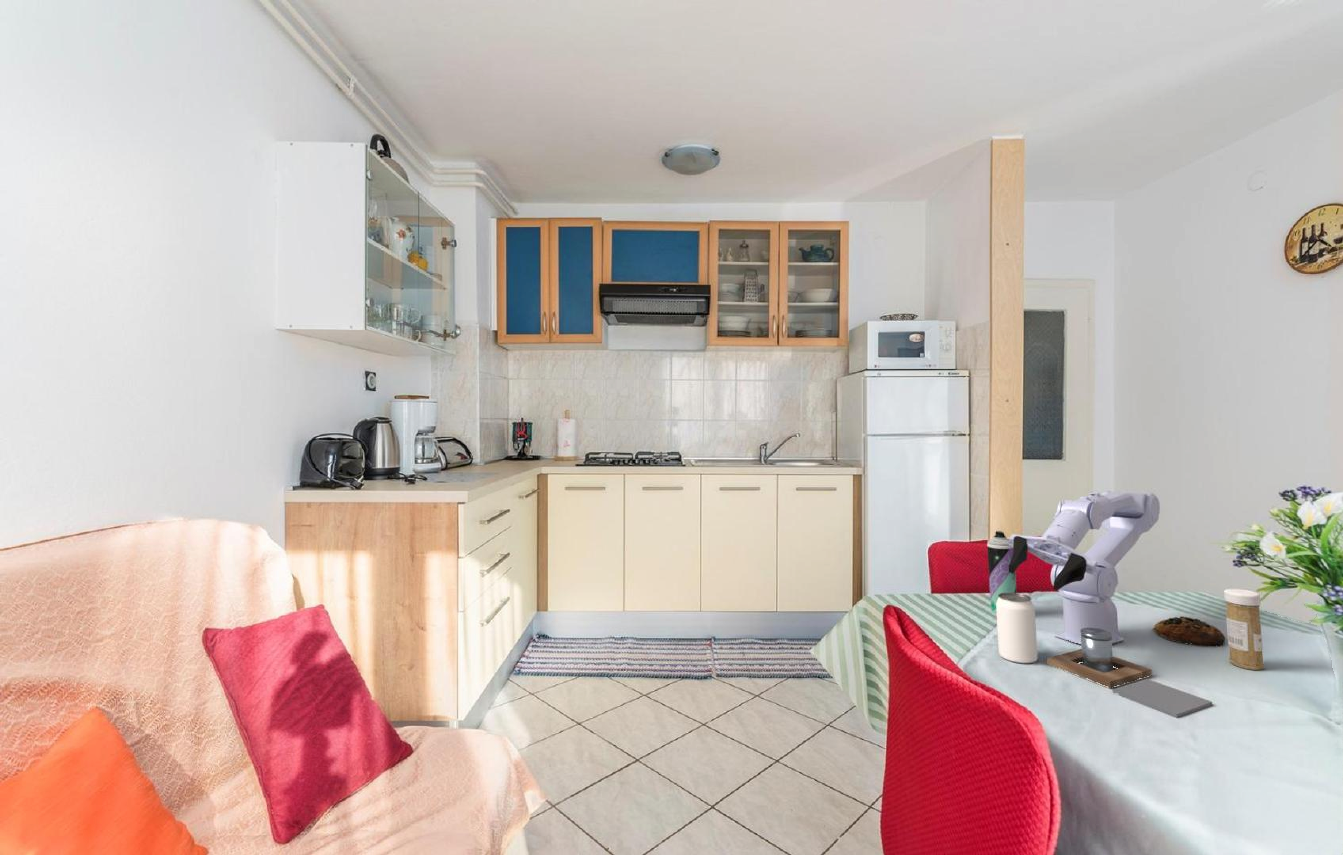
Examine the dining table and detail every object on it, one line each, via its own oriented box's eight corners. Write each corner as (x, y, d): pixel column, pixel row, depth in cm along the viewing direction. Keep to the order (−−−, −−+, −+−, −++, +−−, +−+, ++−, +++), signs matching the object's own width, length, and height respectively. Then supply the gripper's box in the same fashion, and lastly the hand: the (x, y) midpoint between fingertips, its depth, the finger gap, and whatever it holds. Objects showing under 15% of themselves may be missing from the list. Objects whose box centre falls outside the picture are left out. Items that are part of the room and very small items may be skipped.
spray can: (987, 611, 134) (982, 529, 135) (1011, 611, 134) (1006, 529, 134) (997, 619, 129) (992, 534, 129) (1022, 618, 128) (1017, 533, 128)
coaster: (1147, 681, 96) (1147, 678, 96) (1212, 704, 87) (1212, 701, 87) (1112, 692, 93) (1112, 689, 93) (1176, 717, 84) (1176, 714, 84)
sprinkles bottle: (1271, 671, 97) (1267, 595, 97) (1240, 670, 98) (1236, 595, 98) (1251, 660, 102) (1246, 588, 102) (1221, 659, 103) (1217, 587, 103)
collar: (1087, 653, 108) (1086, 647, 108) (1151, 675, 98) (1151, 669, 98) (1047, 664, 105) (1047, 657, 105) (1110, 688, 94) (1109, 681, 94)
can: (1043, 665, 104) (1040, 601, 104) (1006, 663, 106) (1002, 601, 106) (1029, 651, 111) (1025, 591, 111) (993, 650, 112) (990, 591, 112)
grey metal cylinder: (1093, 663, 104) (1091, 626, 104) (1119, 672, 100) (1117, 633, 100) (1076, 667, 103) (1074, 630, 103) (1102, 677, 98) (1100, 638, 98)
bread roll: (1211, 651, 106) (1205, 624, 107) (1143, 641, 116) (1138, 616, 117) (1239, 642, 111) (1234, 616, 111) (1172, 632, 121) (1167, 609, 121)
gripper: (1023, 510, 114) (992, 546, 108) (1107, 535, 103) (1079, 577, 97) (1021, 536, 118) (992, 573, 111) (1103, 563, 107) (1076, 606, 100)
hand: (1032, 577), depth 104 cm, fingers open, 7 cm apart
